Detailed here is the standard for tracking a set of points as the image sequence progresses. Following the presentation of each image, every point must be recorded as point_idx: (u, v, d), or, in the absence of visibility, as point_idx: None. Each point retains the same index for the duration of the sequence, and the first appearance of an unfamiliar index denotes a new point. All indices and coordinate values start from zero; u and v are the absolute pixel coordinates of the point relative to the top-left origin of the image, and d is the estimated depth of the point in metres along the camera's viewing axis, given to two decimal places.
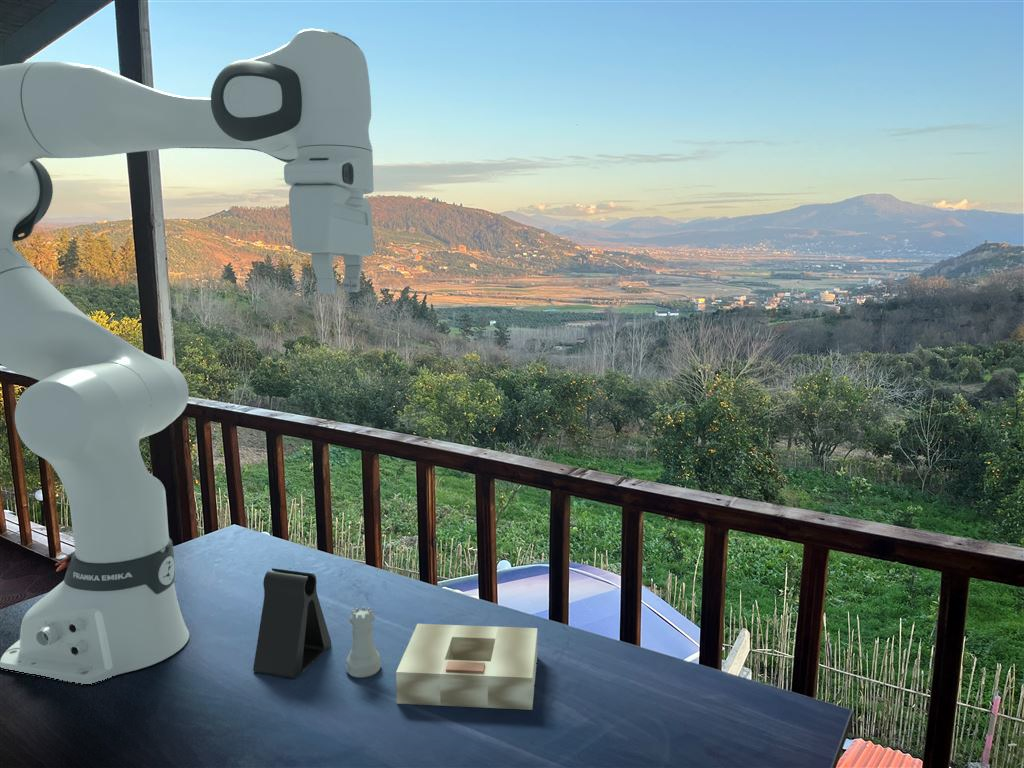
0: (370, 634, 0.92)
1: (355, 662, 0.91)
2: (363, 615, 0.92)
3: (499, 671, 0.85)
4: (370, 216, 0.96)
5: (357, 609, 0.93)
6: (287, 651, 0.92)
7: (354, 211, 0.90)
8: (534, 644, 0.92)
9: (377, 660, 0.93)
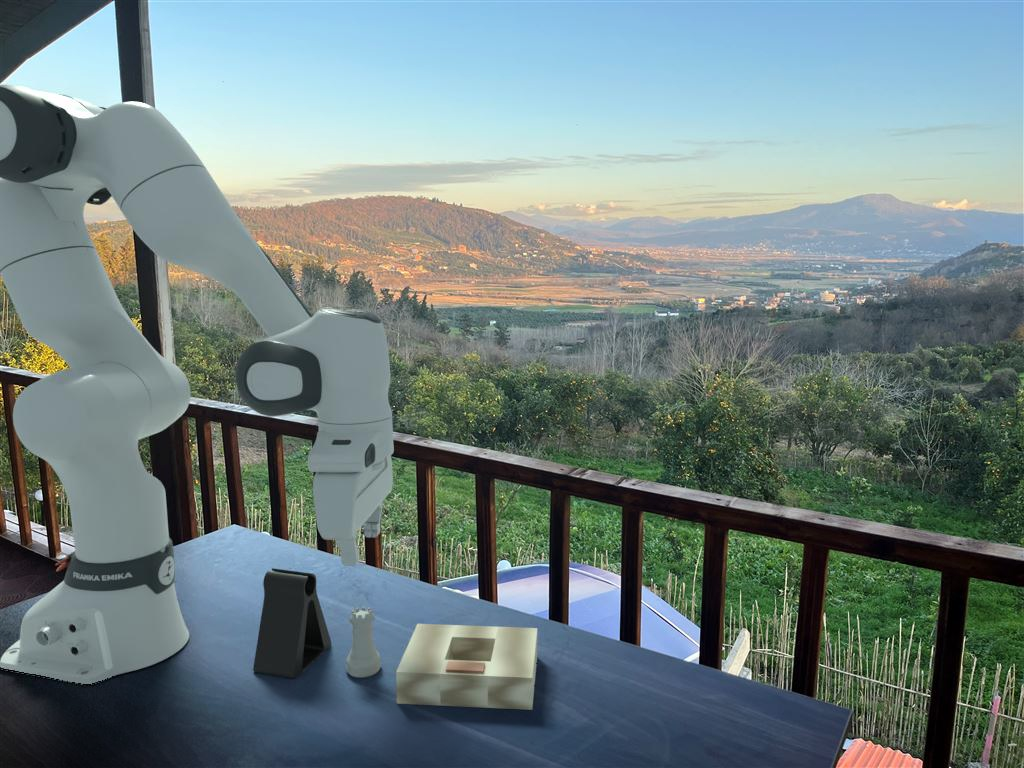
0: (370, 634, 0.92)
1: (355, 662, 0.91)
2: (363, 615, 0.92)
3: (499, 671, 0.85)
4: (389, 456, 0.98)
5: (357, 609, 0.93)
6: (287, 651, 0.92)
7: None
8: (534, 644, 0.92)
9: (377, 660, 0.93)
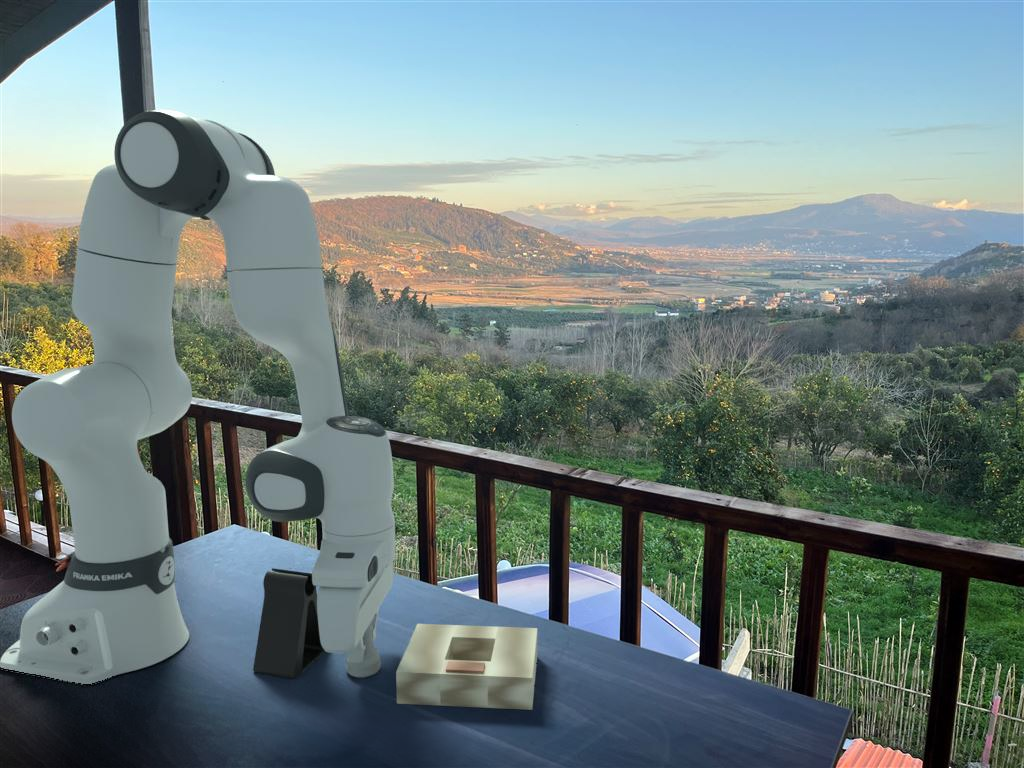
0: (370, 634, 0.92)
1: None
2: None
3: (499, 671, 0.85)
4: None
5: None
6: (287, 651, 0.92)
7: None
8: (534, 644, 0.92)
9: (377, 660, 0.93)
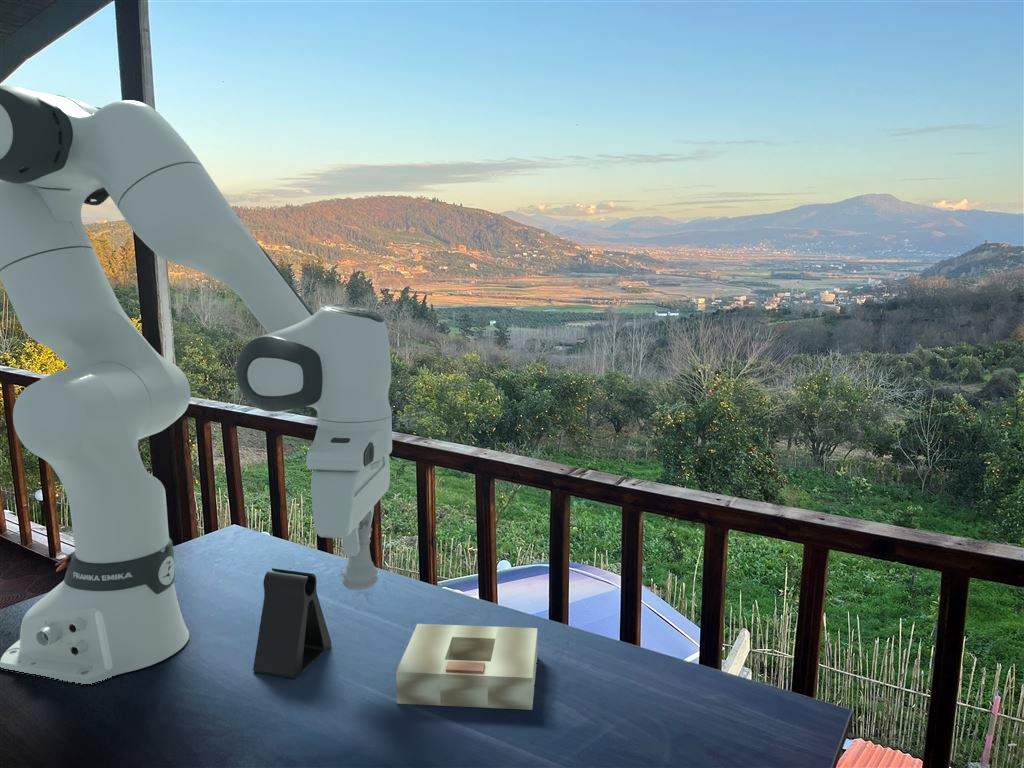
0: (367, 546, 0.91)
1: (352, 573, 0.90)
2: (360, 526, 0.90)
3: (499, 671, 0.85)
4: (387, 454, 0.98)
5: None
6: (287, 651, 0.92)
7: None
8: (534, 644, 0.92)
9: (374, 573, 0.91)
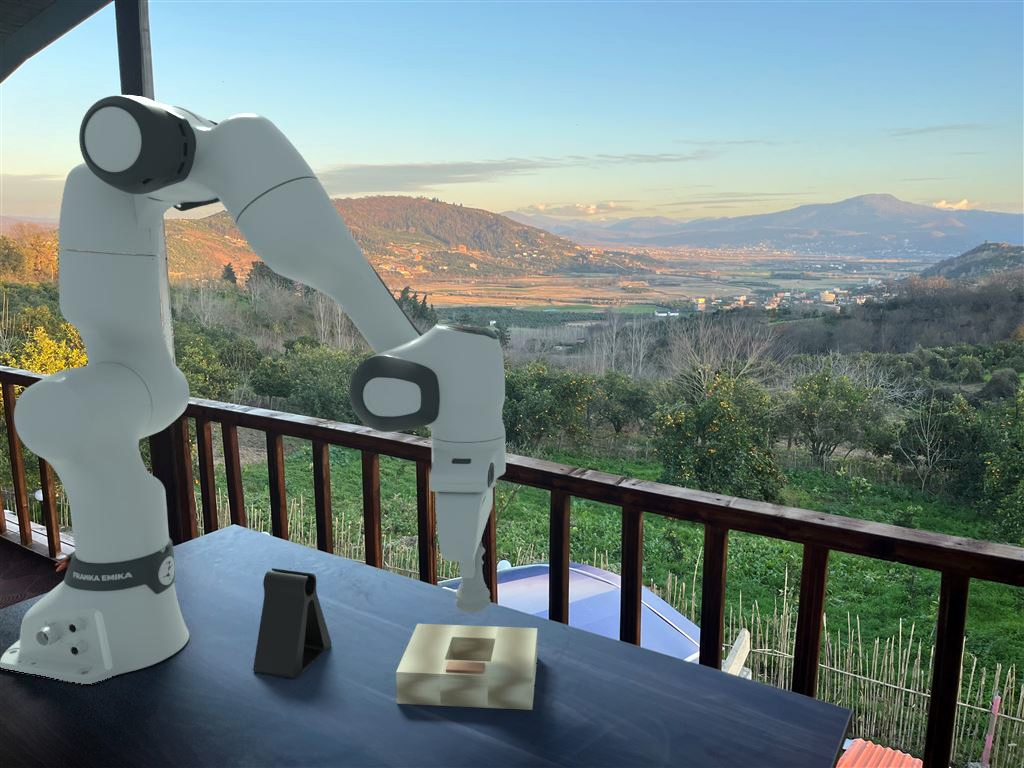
0: (481, 567, 0.89)
1: (466, 596, 0.88)
2: None
3: (499, 671, 0.85)
4: None
5: None
6: (287, 651, 0.92)
7: None
8: (534, 644, 0.92)
9: (488, 595, 0.89)
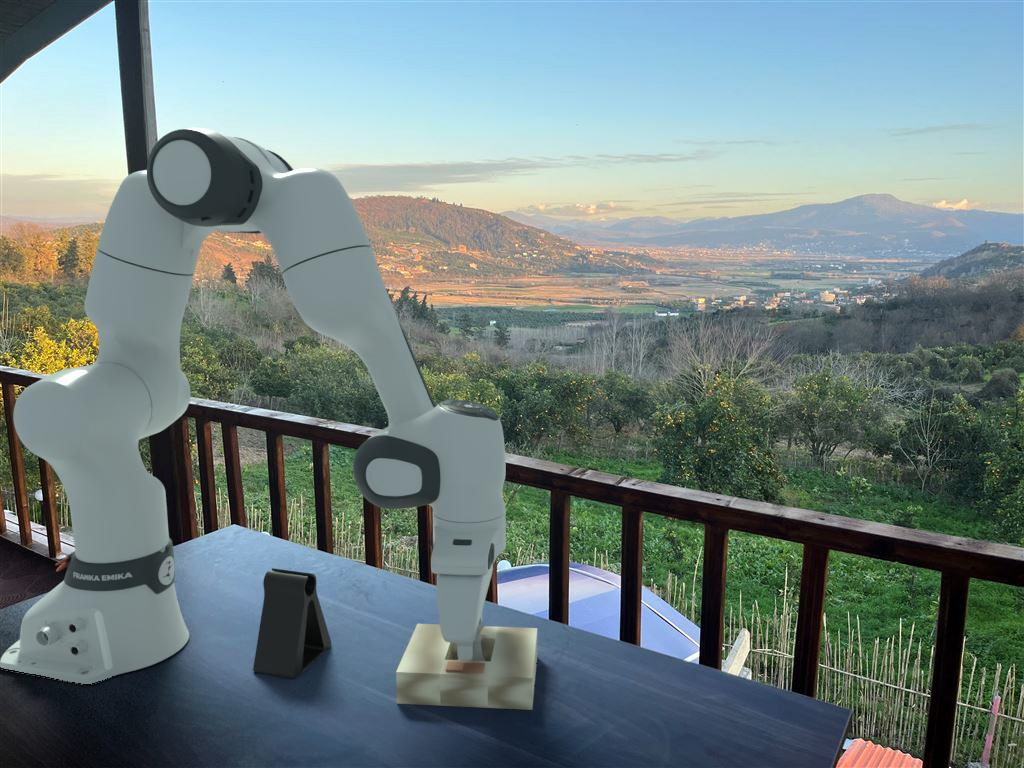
0: (479, 642, 0.90)
1: None
2: None
3: (499, 671, 0.85)
4: None
5: None
6: (287, 651, 0.92)
7: None
8: (534, 644, 0.92)
9: None
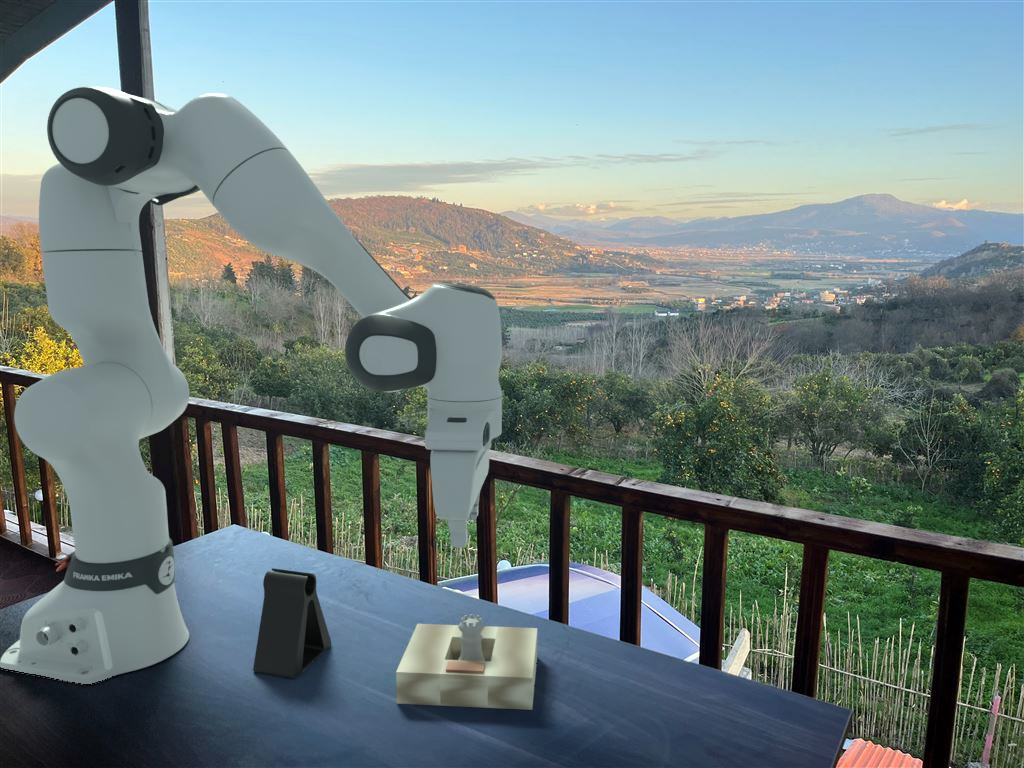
0: (480, 642, 0.90)
1: None
2: (473, 623, 0.90)
3: (499, 671, 0.85)
4: None
5: (466, 617, 0.91)
6: (287, 651, 0.92)
7: None
8: (534, 644, 0.92)
9: None
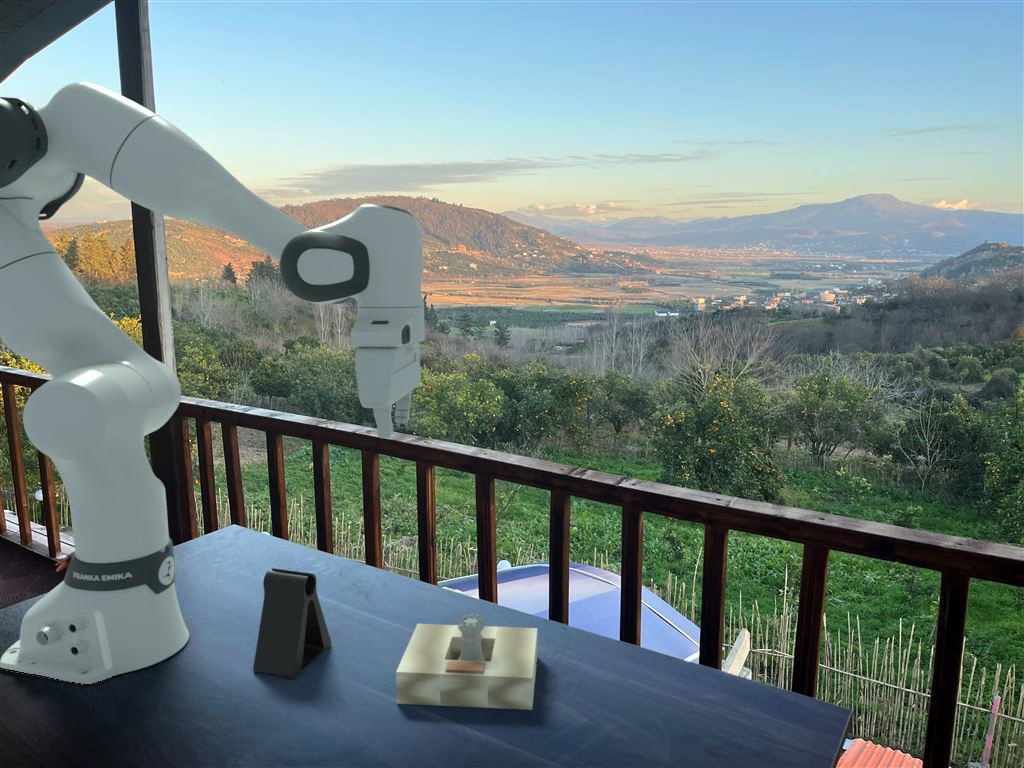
0: (480, 642, 0.90)
1: None
2: (473, 623, 0.90)
3: (499, 671, 0.85)
4: (418, 351, 1.06)
5: (465, 617, 0.91)
6: (287, 651, 0.92)
7: (406, 356, 1.00)
8: (534, 644, 0.92)
9: None
